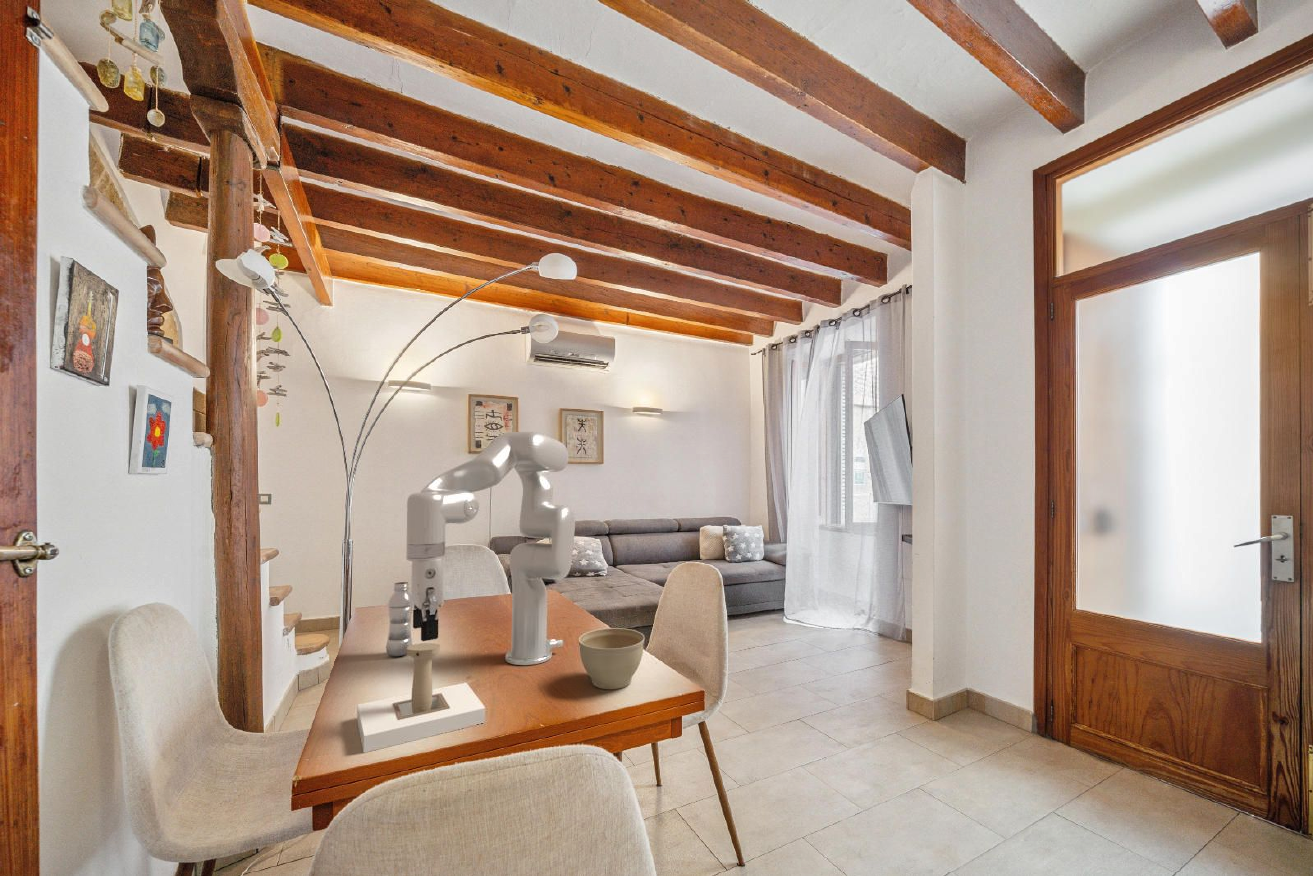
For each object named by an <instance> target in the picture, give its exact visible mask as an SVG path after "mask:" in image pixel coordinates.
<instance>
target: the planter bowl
mask: <svg viewBox="0 0 1313 876" xmlns="http://www.w3.org/2000/svg"><path fill="white" fill-rule="evenodd" d="M578 644H579V654H580V655H579V656H580V660H581V662H582V665H583V667H584V670H585V671H586V673H587V674H588V676H589V677H590V679H591V682H592V683H591V684H592V685H593V686H594V687H597V688H599V689H603V690H617V689H623V688H625V687H627V686H629V685H630V684H631V683H632V678H633V676H634V675H635V673H636V672H637V670H638V668H639V666H640V664H641V660H642V658H643V653H644V644H645V635H644V634H643V633H642V632H639V631H637V630H635V629H630V628H629V629H628V628H619V627H615V628H614V627H612V628H611V627H610V628H600V629H594V630H591V631H587V632H585V633H583V634H582V635H580V636H579V637H578Z"/></svg>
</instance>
